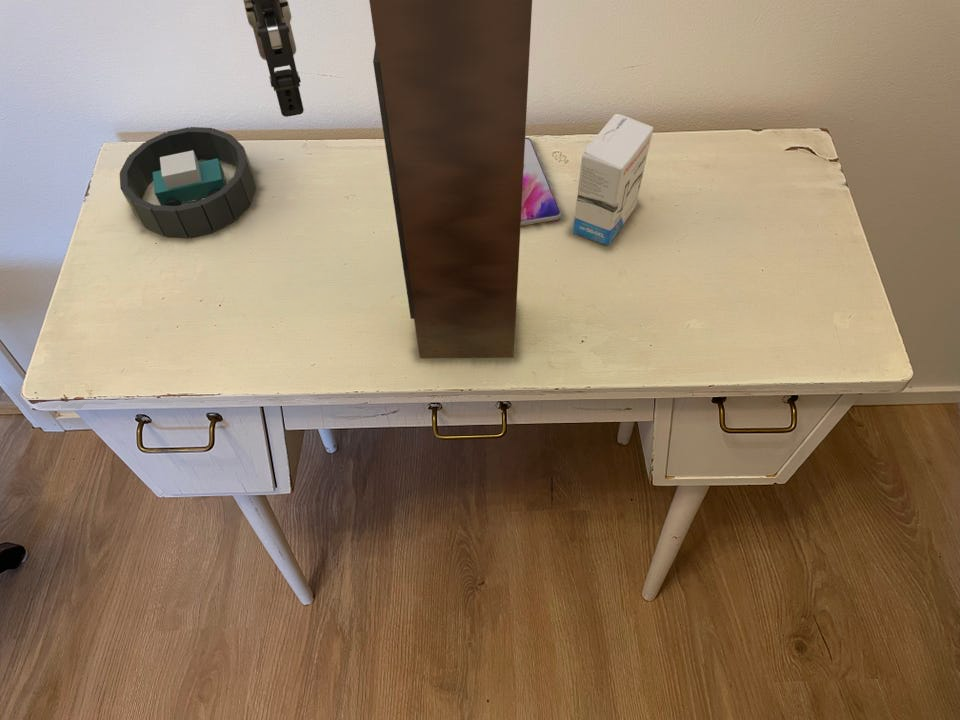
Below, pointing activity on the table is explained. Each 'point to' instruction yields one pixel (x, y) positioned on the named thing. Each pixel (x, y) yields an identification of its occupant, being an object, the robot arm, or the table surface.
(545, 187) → the smartphone
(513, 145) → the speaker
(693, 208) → the table surface
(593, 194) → the ink box
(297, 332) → the table surface
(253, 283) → the table surface
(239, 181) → the segmented grey ring
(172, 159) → the toy car
